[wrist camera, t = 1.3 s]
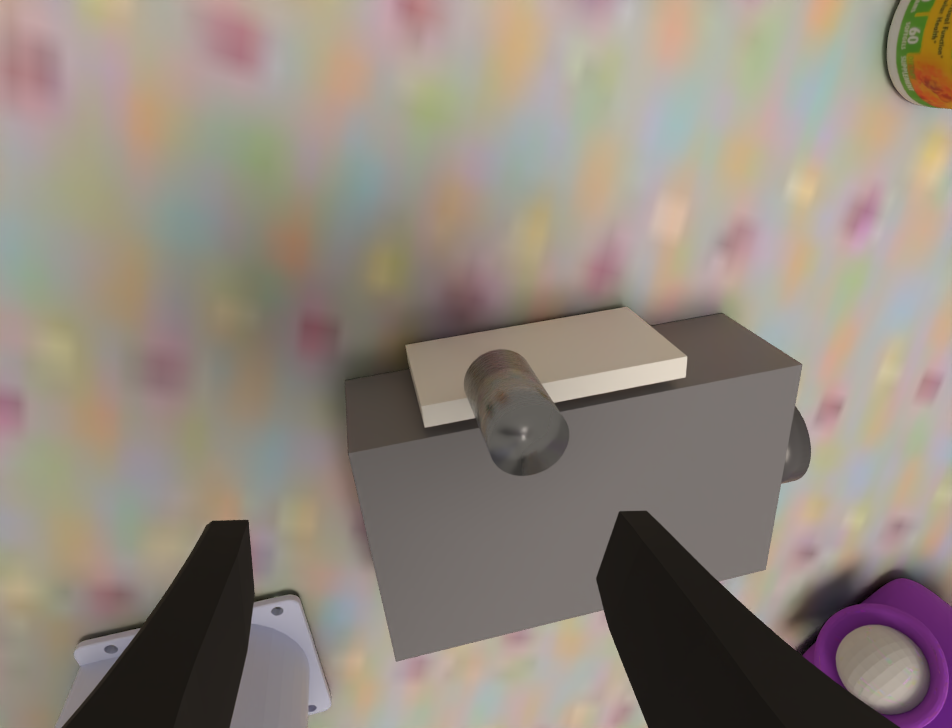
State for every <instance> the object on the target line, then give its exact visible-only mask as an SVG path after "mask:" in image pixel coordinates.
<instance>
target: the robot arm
mask: <svg viewBox="0 0 952 728" xmlns="http://www.w3.org/2000/svg"><path fill="white" fill-rule="evenodd" d="M596 581H597V585H598V589H599V593H600V597H601V601H602V605H603V609H604V612H605V616H606V620H607V623H608V627H609V630H610V632H611V635H612V638H613V640H614V643H615V645H616V648H617V650H618V653H619V655H620V658H621V661H622V663H623V666H624V668H625V671H626V673H627V676H628V678H629V681H630V683H631V686H632V688H633V691H634V693H635V696H636V698H637V701H638V703H639V706H640V708H641V711H642V713H643V716H644V718H645V721H646V723H647V725H648V728H900V727H899V726H897V725H896V724H894V723H893V722H892V721H890V720H889V719H887V718H886V717H884V716H883V715H881V714H880V713H879V712H877V711H876V710H874V709H873V708H871V707H870V706H868V705H867V704H866V703H864V702H863V701H861V700H860V699H858V698H857V697H856V696H854V695H853V694H851V693H850V692H849V691H847V690H846V689H845V688H843V687H842V686H841V685H839V684H838V683H836V682H835V681H834V680H833V679H831V678H830V677H829V676H827V675H826V674H825V673H824V672H822V671H821V670H820V669H818V668H817V667H816V666H815V665H813V664H812V663H811V662H809V661H808V660H807V659H806V658H804V657H803V656H802V655H800V654H799V653H798V652H797V651H796V650H794V649H793V648H792V647H791V646H790V645H788V644H787V643H786V642H785V641H784V640H782V639H781V638H780V637H779V636H778V635H777V634H775V633H774V632H773V631H772V630H771V629H770V628H769V627H767V626H766V625H765V624H764V623H763V622H762V621H761V620H759V619H758V618H757V617H756V616H755V615H754V614H753V613H752V612H750V611H749V610H748V609H747V608H746V607H745V606H744V605H743V604H742V603H741V602H740V601H738V600H737V599H736V598H735V597H734V596H733V595H732V594H731V593H730V592H729V591H728V590H727V589H726V588H725V587H724V586H723V585H722V584H721V583H719V582H718V581H717V580H716V579H715V578H714V577H713V576H712V575H711V574H710V573H709V572H708V571H707V570H706V569H705V568H704V567H703V566H702V565H701V564H700V563H699V562H698V561H697V560H696V559H695V558H694V557H693V556H692V555H691V554H690V553H689V552H688V551H687V550H686V549H685V548H684V547H683V546H682V545H681V544H680V543H679V542H678V541H677V540H676V539H675V538H674V537H673V536H672V535H671V534H670V533H669V532H668V531H667V530H666V529H665V528H664V527H663V526H662V525H661V524H660V523H659V522H658V521H657V520H656V519H655V518H654V517H653V516H652V515H651V514H650V513H649V512H648V511H619V513H618V516H617V519H616V522H615V525H614V528H613V530H612V533H611V536H610V539H609V542H608V545H607V548H606V551H605V553H604V556H603V559H602V562H601V565H600V568H599V571H598V574H597V577H596ZM254 596H255V593H254V581H253V569H252V557H251V545H250V534H249V522H248V520H227V521H212V522H210V523H209V524H208V525H207V526H206V527H205V529H204V531H203V533H202V535H201V536H200V538H199V540H198V542H197V543H196V545H195V547H194V549H193V550H192V552H191V554H190V555H189V557H188V559H187V560H186V562H185V563H184V565H183V567H182V568H181V570H180V571H179V573H178V575H177V576H176V578H175V579H174V581H173V582H172V584H171V585H170V587H169V588H168V590H167V591H166V593H165V594H164V596H163V597H162V599H161V600H160V601H159V603H158V604H157V606H156V607H155V609H154V610H153V611H152V613H151V614H150V616H149V617H148V619H147V620H146V622H145V623H144V624H143V626H142V627H141V628H138V629H133V630H129V631H124V632H120V633H116V634H111V635H107V636H102V637H98V638H94V639H89V640H85V641H82V642H80V643H79V644H78V645H77V646H76V649H75V651H74V658H75V659H76V661H77V663H78V664H79V666H80V668H79V670H78V672H77V675H76V677H75V680H74V682H73V684H72V687H71V689H70V692H69V694H68V696H67V699H66V701H65V704H64V706H63V709H62V711H61V713H60V716H59V718H58V721H57V723H56V725H55V728H308V715H311V714H315V713H319V712H323V711H326V710H327V709H329V708H330V706H331V695H330V691H329V688H328V685H327V682H326V679H325V676H324V673H323V669H322V666H321V663H320V660H319V657H318V654H317V651H316V647H315V644H314V641H313V638H312V635H311V632H310V629H309V625H308V622H307V619H306V616H305V613H304V610H303V606H302V603H301V600H300V599H299V597H297V596H296V595H292V594H289V595H283V596H279V597H275V598H270V599H266V600H261V601H257V602H254ZM275 607H281V608H278V609H276V608H275ZM111 645H114V646H111Z"/></svg>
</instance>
